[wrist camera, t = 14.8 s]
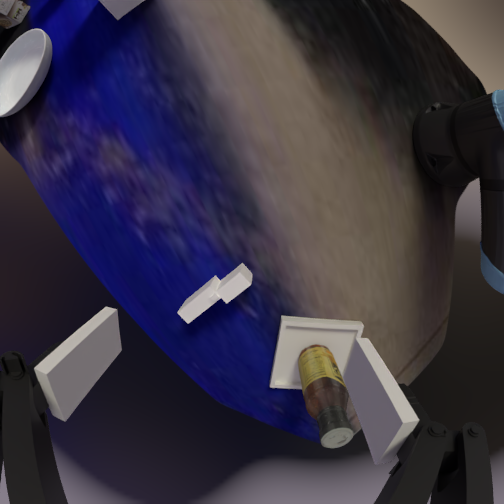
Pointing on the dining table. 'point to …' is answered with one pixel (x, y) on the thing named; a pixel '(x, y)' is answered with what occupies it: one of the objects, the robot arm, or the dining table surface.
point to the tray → (306, 334)
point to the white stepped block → (216, 292)
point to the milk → (120, 6)
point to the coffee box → (12, 12)
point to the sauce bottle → (325, 395)
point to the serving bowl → (23, 70)
